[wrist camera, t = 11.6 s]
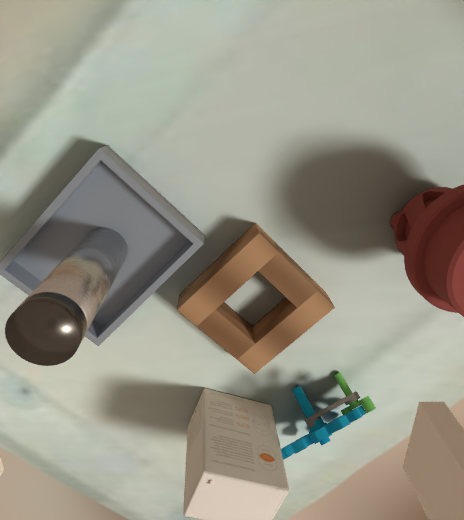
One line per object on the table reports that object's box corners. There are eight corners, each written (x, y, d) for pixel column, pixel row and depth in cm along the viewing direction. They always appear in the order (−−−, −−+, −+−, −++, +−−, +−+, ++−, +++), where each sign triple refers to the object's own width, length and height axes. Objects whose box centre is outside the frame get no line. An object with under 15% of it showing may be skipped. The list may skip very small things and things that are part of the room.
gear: (285, 461, 44) (277, 472, 35) (261, 411, 47) (247, 409, 38) (372, 414, 44) (386, 413, 35) (343, 366, 47) (349, 353, 38)
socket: (255, 222, 36) (259, 233, 33) (325, 292, 39) (334, 307, 36) (179, 294, 38) (177, 310, 35) (251, 355, 41) (254, 373, 38)
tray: (107, 144, 32) (99, 148, 30) (204, 234, 36) (203, 243, 33) (7, 258, 36) (-7, 269, 33) (105, 331, 39) (98, 346, 37)
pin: (101, 218, 34) (33, 290, 21) (137, 248, 35) (93, 335, 22) (72, 249, 35) (-10, 337, 22) (108, 278, 36) (50, 377, 23)
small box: (187, 424, 44) (180, 517, 34) (203, 385, 42) (201, 471, 32) (254, 441, 45) (265, 535, 35) (273, 404, 43) (290, 492, 34)
